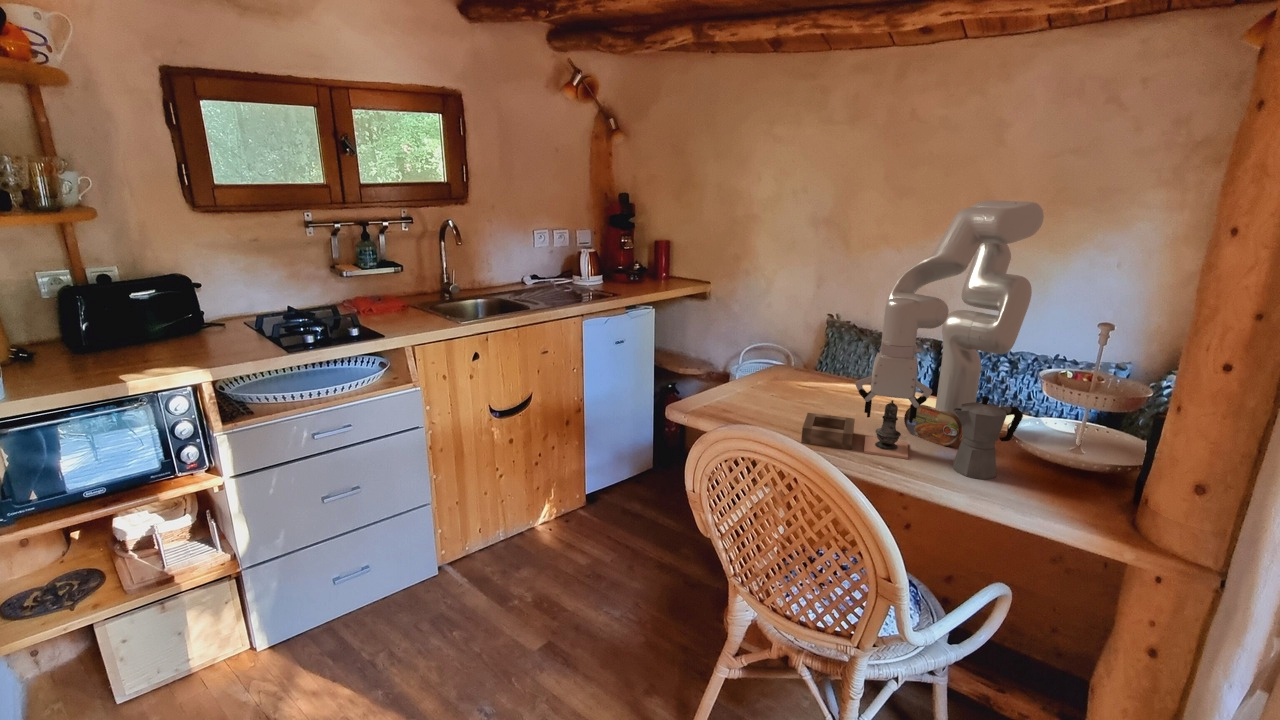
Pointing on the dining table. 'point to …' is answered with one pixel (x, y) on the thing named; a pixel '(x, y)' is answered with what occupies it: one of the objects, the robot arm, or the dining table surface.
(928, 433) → the tin
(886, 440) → the salt shaker
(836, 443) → the socket block
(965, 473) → the coffeepot
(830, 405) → the dining table surface
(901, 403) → the dining table surface
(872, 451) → the terracotta tile
